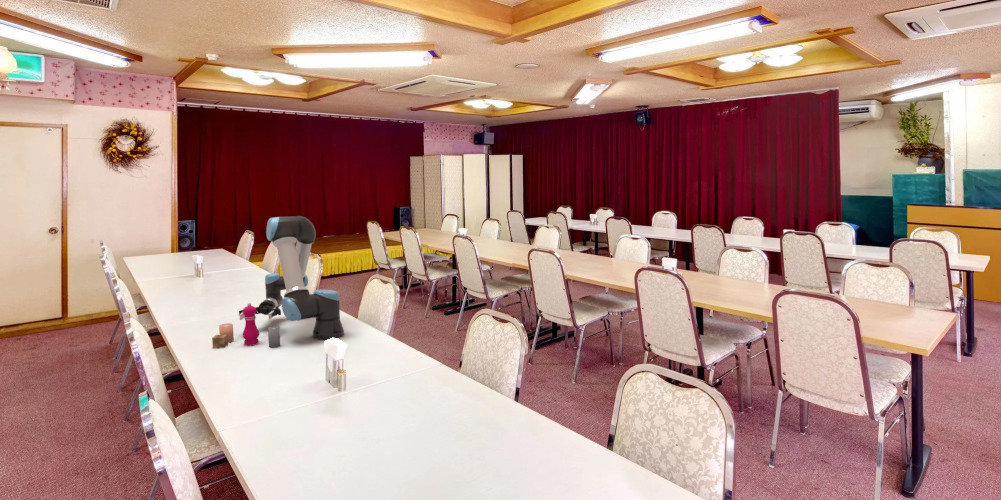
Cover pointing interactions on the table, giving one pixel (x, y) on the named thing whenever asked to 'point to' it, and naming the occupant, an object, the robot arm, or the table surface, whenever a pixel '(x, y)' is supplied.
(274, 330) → the charcoal salt shaker
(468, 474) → the table surface
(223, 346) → the walnut block
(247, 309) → the pepper mill
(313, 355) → the table surface
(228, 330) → the peach round cylinder
